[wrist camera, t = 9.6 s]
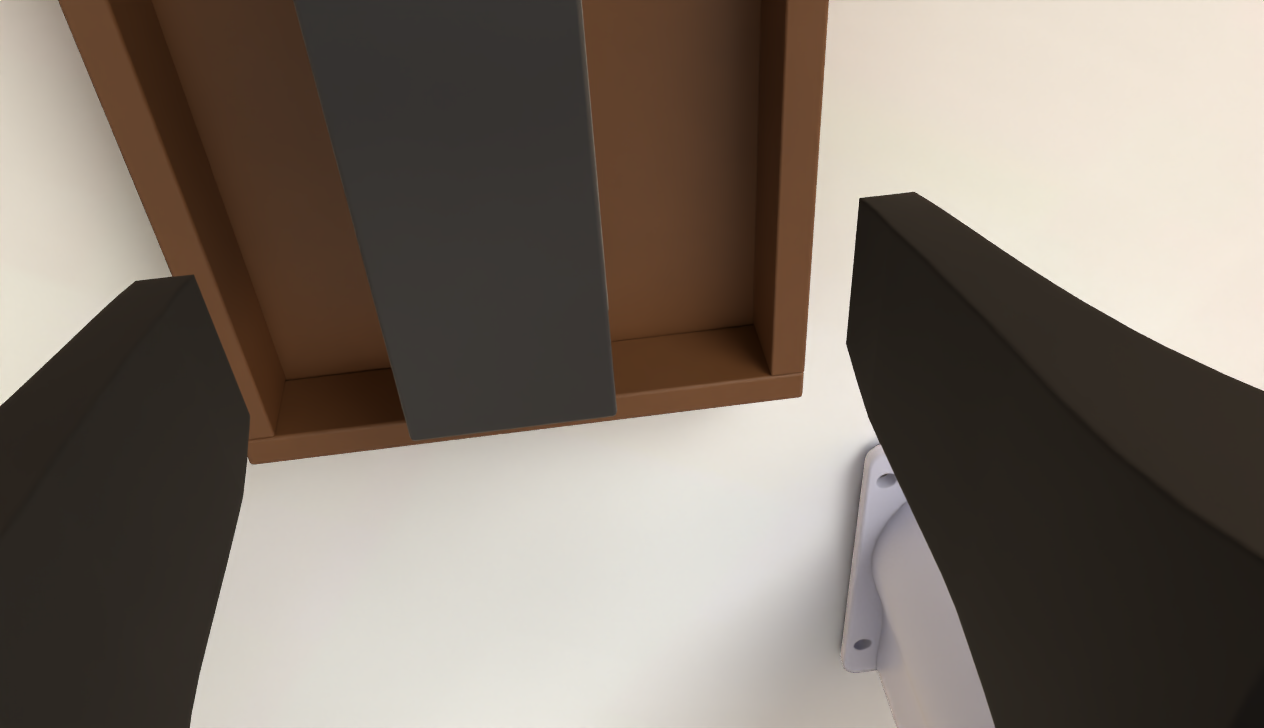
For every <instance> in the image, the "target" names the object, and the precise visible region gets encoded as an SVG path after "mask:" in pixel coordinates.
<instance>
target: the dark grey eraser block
mask: <svg viewBox="0 0 1264 728" xmlns="http://www.w3.org/2000/svg"><path fill="white" fill-rule="evenodd" d="M293 2H294V6H295V10H296V13H297V17H298V21H299V25H300V28H301V32H302V36H303V40H304V43H305V47H306V51H307V55H308V58H309V62H310V66H311V70H312V73H313V77H314V81H315V84H316V88H317V92H318V96H319V99H320V103H321V107H322V111H323V114H324V118H325V122H326V126H327V129H328V133H329V137H330V140H331V144H332V148H333V152H334V155H335V159H336V163H337V167H338V170H339V174H340V178H341V182H342V185H343V189H344V193H345V197H346V200H347V204H348V208H349V211H350V215H351V219H352V223H353V226H354V230H355V234H356V238H357V241H358V245H359V249H360V253H361V256H362V260H363V264H364V267H365V271H366V275H367V279H368V282H369V286H370V290H371V294H372V297H373V301H374V305H375V309H376V312H377V316H378V320H379V324H380V327H381V331H382V335H383V338H384V342H385V346H386V350H387V353H388V357H389V361H390V365H391V368H392V372H393V376H394V380H395V383H396V387H397V391H398V395H399V398H400V402H401V406H402V409H403V413H404V417H405V421H406V424H407V428H408V432H409V436H410V438H411V439H412V440H413V441H419V440H427V439H435V438H443V437H451V436H460V435H468V434H476V433H484V432H492V431H500V430H508V429H516V428H524V427H533V426H541V425H549V424H557V423H565V422H573V421H581V420H589V419H597V418H605V417H613V416H615V415H616V413H617V404H616V392H615V381H614V370H613V358H612V347H611V336H610V324H609V313H608V310H609V306H608V295H607V284H606V272H605V261H604V249H603V238H602V227H601V215H600V204H599V192H598V181H597V170H596V158H595V147H594V135H593V124H592V113H591V101H590V90H589V78H588V67H587V56H586V44H585V33H584V21H583V10H582V0H293Z"/></svg>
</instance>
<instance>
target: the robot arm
mask: <svg viewBox="0 0 1264 728" xmlns="http://www.w3.org/2000/svg"><path fill="white" fill-rule="evenodd" d="M846 345H847V348H848V352H849V355H850V359H851V362H852V365H853V369H854V372H855V376H856V379H857V383H858V386H859V389H860V392H861V395H862V399H863V402H864V405H865V408H866V411H867V414H868V417H869V420H870V422H871V424H872V426H873V429H874V431H875V433H876V435H877V438H878V440H879V442H880V445H877V446H876V447H874V448H872V449H871V450H870V451H869V452H868V453H867V455H866V458H865V463H864V471H863V479H862V487H861V495H860V503H859V511H858V519H857V527H856V535H855V543H854V551H853V559H852V567H851V575H850V583H849V591H848V599H847V607H846V615H845V623H844V631H843V639H842V647H841V655H840V657H841V661H842V664H843V667H844V669H845V670H846V671H849V672H852V673H859V672H866V671H873V670H877V671H878V674H879V677H880V680H881V683H882V685H883V688H884V691H885V694H886V697H887V700H888V703H889V706H890V709H891V712H892V715H893V717H894V720H895V723H896V726H897V728H1264V391H1262V390H1260V389H1258V388H1255V387H1253V386H1251V385H1248V384H1246V383H1243V382H1241V381H1239V380H1236V379H1234V378H1232V377H1229V376H1227V375H1225V374H1223V373H1220V372H1218V371H1216V370H1214V369H1212V368H1210V367H1208V366H1206V365H1203V364H1201V363H1199V362H1197V361H1195V360H1193V359H1191V358H1189V357H1187V356H1184V355H1182V354H1180V353H1178V352H1176V351H1174V350H1172V349H1170V348H1167V347H1165V346H1163V345H1161V344H1159V343H1157V342H1156V341H1154V340H1152V339H1150V338H1148V337H1146V336H1144V335H1142V334H1140V333H1138V332H1136V331H1134V330H1133V329H1131V328H1129V327H1127V326H1126V325H1124V324H1122V323H1120V322H1118V321H1117V320H1115V319H1113V318H1111V317H1110V316H1108V315H1106V314H1104V313H1103V312H1101V311H1099V310H1097V309H1096V308H1094V307H1092V306H1090V305H1088V304H1087V303H1085V302H1083V301H1082V300H1080V299H1078V298H1077V297H1075V296H1073V295H1072V294H1070V293H1068V292H1067V291H1065V290H1064V289H1062V288H1060V287H1059V286H1057V285H1055V284H1054V283H1052V282H1051V281H1049V280H1048V279H1046V278H1044V277H1043V276H1041V275H1040V274H1038V273H1037V272H1035V271H1033V270H1032V269H1030V268H1029V267H1027V266H1026V265H1024V264H1023V263H1021V262H1020V261H1018V260H1017V259H1015V258H1014V257H1012V256H1011V255H1009V254H1008V253H1006V252H1005V251H1003V250H1002V249H1000V248H999V247H997V246H996V245H994V244H993V243H991V242H990V241H988V240H987V239H985V238H984V237H982V236H981V235H979V234H978V233H977V232H975V231H974V230H972V229H971V228H969V227H968V226H966V225H965V224H963V223H962V222H960V221H959V220H957V219H956V218H954V217H953V216H951V215H950V214H949V213H947V212H946V211H944V210H943V209H941V208H939V207H938V206H936V205H935V204H933V203H932V202H930V201H929V200H927V199H925V198H924V197H922V196H920V195H919V194H917V193H915V192H909V193H900V194H892V195H883V196H874V197H865V198H860V199H859V210H858V220H857V231H856V242H855V253H854V264H853V275H852V286H851V296H850V307H849V318H848V329H847V340H846ZM249 427H250V414H249V411H248V409H247V406H246V404H245V401H244V399H243V396H242V394H241V391H240V389H239V386H238V384H237V381H236V379H235V376H234V374H233V371H232V369H231V366H230V364H229V361H228V359H227V356H226V354H225V351H224V349H223V346H222V344H221V341H220V339H219V336H218V334H217V331H216V329H215V326H214V324H213V321H212V319H211V316H210V314H209V311H208V309H207V306H206V304H205V301H204V299H203V296H202V294H201V291H200V289H199V286H198V284H197V281H196V279H195V276H194V274H193V275H184V276H175V277H167V278H158V279H149V280H141V281H135V282H134V283H133V284H132V285H130V286H129V287H128V288H127V289H125V290H124V291H123V292H122V293H121V294H119V295H118V296H117V297H116V298H115V299H114V300H113V301H112V302H110V303H109V304H108V305H107V306H106V307H105V308H104V309H103V310H102V311H101V312H100V313H99V314H98V315H96V316H95V317H94V318H93V319H92V320H91V321H90V322H89V323H88V324H87V325H86V326H85V327H84V328H83V329H82V330H81V331H80V332H79V333H78V334H77V335H75V336H74V337H73V338H72V339H71V340H70V341H69V342H68V343H67V344H66V345H65V346H64V347H63V348H62V349H61V350H60V351H59V352H58V353H57V354H56V355H55V356H53V357H52V358H51V359H50V360H49V361H48V362H47V363H46V364H45V365H44V366H43V367H42V368H41V369H40V370H39V371H37V372H36V373H35V374H34V375H33V376H32V377H31V378H30V379H29V380H28V381H27V382H26V383H25V384H24V385H23V386H22V387H20V388H19V389H18V390H17V391H16V392H15V393H14V394H13V395H12V396H11V397H10V398H9V399H8V400H7V401H5V402H4V403H3V404H2V405H1V406H0V728H190V722H191V715H192V709H193V704H194V699H195V694H196V689H197V684H198V679H199V674H200V670H201V666H202V662H203V658H204V654H205V650H206V646H207V642H208V638H209V634H210V630H211V626H212V622H213V618H214V614H215V610H216V606H217V602H218V598H219V594H220V590H221V586H222V582H223V578H224V574H225V570H226V566H227V562H228V558H229V554H230V550H231V545H232V541H233V537H234V533H235V529H236V525H237V520H238V516H239V512H240V507H241V503H242V499H243V492H244V483H245V474H246V465H247V454H248V441H249ZM887 473H888V474H887ZM884 474H887V475H885V476H882V475H884ZM880 476H882V477H880Z"/></svg>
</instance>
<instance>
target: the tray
mask: <svg viewBox="0 0 1264 728" xmlns="http://www.w3.org/2000/svg"><path fill="white" fill-rule="evenodd" d="M58 1H59V4H60V6H61V8H62V11H63V13H64V16H65V18H66V20H67V23H68V25H69V28H70V30H71V33H72V35H73V37H74V40H75V42H76V45H77V47H78V49H79V52H80V54H81V57H82V59H83V62H84V64H85V66H86V69H87V71H88V74H89V76H90V78H91V81H92V83H93V86H94V88H95V91H96V93H97V95H98V98H99V100H100V103H101V105H102V107H103V110H104V112H105V115H106V117H107V120H108V122H109V124H110V127H111V129H112V132H113V134H114V136H115V139H116V141H117V144H118V146H119V148H120V151H121V153H122V156H123V158H124V161H125V163H126V165H127V168H128V170H129V173H130V175H131V177H132V180H133V182H134V185H135V187H136V190H137V192H138V194H139V197H140V199H141V202H142V204H143V206H144V209H145V211H146V214H147V216H148V219H149V221H150V223H151V226H152V228H153V231H154V233H155V235H156V238H157V240H158V243H159V245H160V248H161V250H162V252H163V255H164V257H165V260H166V262H167V264H168V267H169V269H170V272H171V274H172V277H175V276H184V275H193V274H194V276H195V279H196V281H197V284H198V286H199V289H200V291H201V294H202V296H203V299H204V301H205V304H206V306H207V309H208V311H209V314H210V316H211V319H212V321H213V324H214V326H215V329H216V331H217V334H218V336H219V339H220V341H221V344H222V346H223V349H224V351H225V354H226V356H227V359H228V361H229V364H230V366H231V369H232V371H233V374H234V376H235V379H236V381H237V384H238V386H239V389H240V391H241V394H242V396H243V399H244V401H245V404H246V406H247V409H248V411H249V414H250V427H249V441H248V454H247V457H248V459H249V462H250V463H251V464H262V463H270V462H278V461H286V460H295V459H303V458H311V457H319V456H327V455H335V454H343V453H351V452H359V451H367V450H376V449H384V448H392V447H400V446H408V445H416V444H424V443H432V442H440V441H448V440H457V439H465V438H473V437H481V436H489V435H497V434H505V433H513V432H521V431H529V430H538V429H546V428H554V427H562V426H570V425H578V424H586V423H594V422H602V421H610V420H619V419H627V418H635V417H643V416H651V415H659V414H667V413H675V412H683V411H691V410H700V409H708V408H716V407H724V406H732V405H740V404H748V403H756V402H764V401H772V400H781V399H789V398H797V397H800V396H801V395H802V389H803V374H804V373H803V372H804V366H805V351H806V336H807V321H808V305H809V290H810V275H811V260H812V245H813V230H814V215H815V200H816V185H817V170H818V155H819V140H820V125H821V110H822V95H823V80H824V65H825V50H826V35H827V20H828V5H829V0H582V10H583V21H584V33H585V44H586V56H587V67H588V78H589V90H590V101H591V113H592V124H593V135H594V147H595V158H596V170H597V181H598V192H599V204H600V215H601V227H602V238H603V249H604V261H605V272H606V284H607V295H608V306H609V310H608V313H609V324H610V336H611V347H612V358H613V370H614V381H615V392H616V404H617V413H616V415H615V416H613V417H605V418H597V419H589V420H581V421H573V422H565V423H557V424H549V425H541V426H533V427H524V428H516V429H508V430H500V431H492V432H484V433H476V434H468V435H460V436H451V437H443V438H435V439H427V440H419V441H413V440H412V439H411V438H410V436H409V432H408V428H407V424H406V421H405V417H404V413H403V409H402V406H401V402H400V398H399V395H398V391H397V387H396V383H395V380H394V376H393V372H392V368H391V365H390V361H389V357H388V353H387V350H386V346H385V342H384V338H383V335H382V331H381V327H380V324H379V320H378V316H377V312H376V309H375V305H374V301H373V297H372V294H371V290H370V286H369V282H368V279H367V275H366V271H365V267H364V264H363V260H362V256H361V253H360V249H359V245H358V241H357V238H356V234H355V230H354V226H353V223H352V219H351V215H350V211H349V208H348V204H347V200H346V197H345V193H344V189H343V185H342V182H341V178H340V174H339V170H338V167H337V163H336V159H335V155H334V152H333V148H332V144H331V140H330V137H329V133H328V129H327V126H326V122H325V118H324V114H323V111H322V107H321V103H320V99H319V96H318V92H317V88H316V84H315V81H314V77H313V73H312V70H311V66H310V62H309V58H308V55H307V51H306V47H305V43H304V40H303V36H302V32H301V28H300V25H299V21H298V17H297V13H296V10H295V6H294V2H293V0H58Z"/></svg>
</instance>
